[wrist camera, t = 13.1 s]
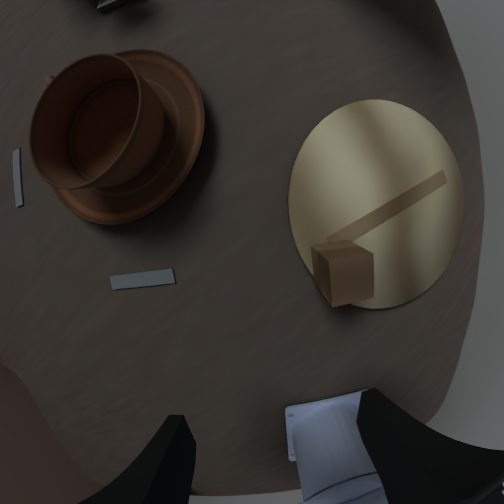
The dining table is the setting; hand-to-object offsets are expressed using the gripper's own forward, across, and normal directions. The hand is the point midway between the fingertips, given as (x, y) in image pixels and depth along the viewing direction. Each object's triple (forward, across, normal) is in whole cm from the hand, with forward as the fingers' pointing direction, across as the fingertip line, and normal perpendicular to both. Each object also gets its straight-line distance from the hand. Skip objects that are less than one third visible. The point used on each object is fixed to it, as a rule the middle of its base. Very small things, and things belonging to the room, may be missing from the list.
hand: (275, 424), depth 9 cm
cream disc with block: (+10, -10, -7) cm, 16 cm away
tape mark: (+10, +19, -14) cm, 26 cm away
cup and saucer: (+10, +8, -14) cm, 19 cm away
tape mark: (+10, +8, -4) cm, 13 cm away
